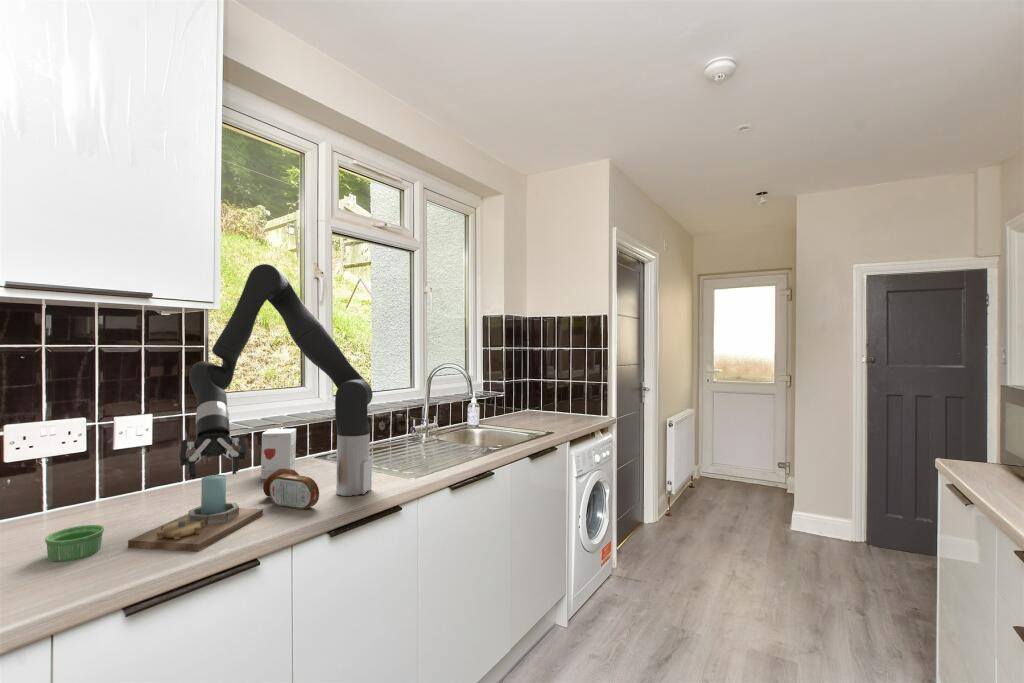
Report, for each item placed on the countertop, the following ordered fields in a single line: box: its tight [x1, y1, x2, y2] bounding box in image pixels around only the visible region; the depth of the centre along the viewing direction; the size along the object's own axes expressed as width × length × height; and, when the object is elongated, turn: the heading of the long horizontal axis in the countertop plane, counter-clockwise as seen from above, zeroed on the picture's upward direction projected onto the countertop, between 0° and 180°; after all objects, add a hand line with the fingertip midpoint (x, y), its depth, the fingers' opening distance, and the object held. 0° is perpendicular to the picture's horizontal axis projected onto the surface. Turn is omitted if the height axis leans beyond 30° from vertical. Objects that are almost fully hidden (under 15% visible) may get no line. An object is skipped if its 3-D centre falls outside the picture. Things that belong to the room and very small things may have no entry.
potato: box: [262, 468, 300, 498], centre depth 139 cm, size 8×12×8 cm, turn 156°
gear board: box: [127, 502, 264, 552], centre depth 112 cm, size 16×22×4 cm
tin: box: [269, 474, 320, 511], centre depth 129 cm, size 15×3×8 cm, turn 71°
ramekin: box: [44, 524, 105, 563], centre depth 99 cm, size 9×9×4 cm
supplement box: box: [260, 428, 297, 480], centre depth 160 cm, size 9×9×15 cm
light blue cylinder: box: [200, 474, 227, 515], centre depth 116 cm, size 5×5×10 cm
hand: (214, 474), depth 118 cm, fingers open, 8 cm apart
